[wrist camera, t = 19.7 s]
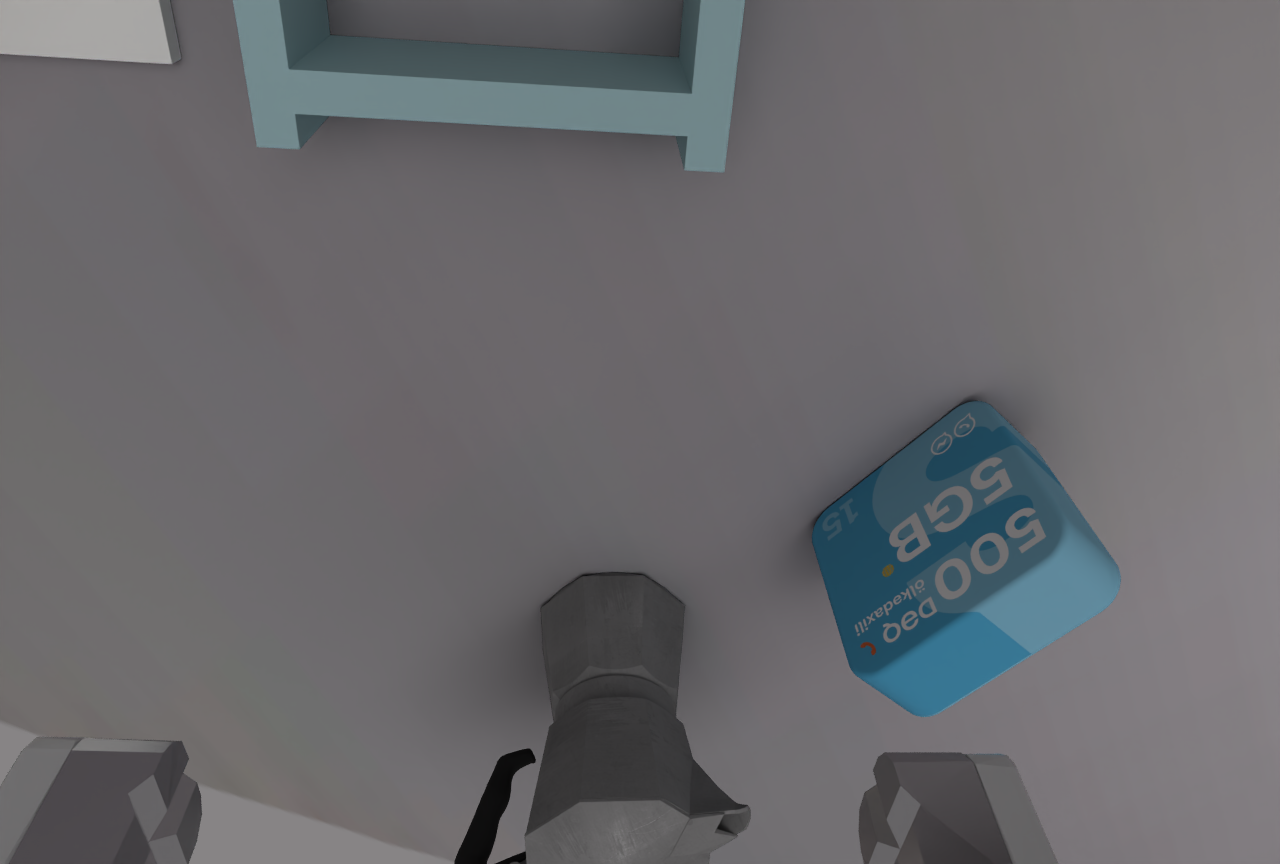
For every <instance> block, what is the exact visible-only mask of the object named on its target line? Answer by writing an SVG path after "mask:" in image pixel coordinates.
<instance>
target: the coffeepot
mask: <svg viewBox="0 0 1280 864" xmlns="http://www.w3.org/2000/svg"><path fill="white" fill-rule="evenodd" d="M684 611H685V606H684V605H683V604H682V603H681V602H680V601H679V600H677V599H676V598H675V597H674V596H673V595H672V594H671V593H670V592H669V591H668V590H667V589H665V588H664V587H663V586H661V585H660V584H658V583H656V582H655V581H653V580H650V579H648V578H647V577H645V576H644V575H637V574H630V573H618V572H610V573H599V574H595V575H590V576H582V577H580V578H579V579H577V580H575V581H573V582H572V583H570V584H568V585H567V586H565V587H564V588H562V589H561V590H560V591H559V592H558V593H556V594H555V595H554V596H553V597H552V599H551V600H550V601H549V602H548V603H547V604H545V605H544V606H543V607H541V624H542V645H543V655H544V661H545V668H546V675H547V681H548V688H549V694H550V701H551V708H552V714H553V721H554V723H553V724H552V725H551V726H550V727H549V731H548V736H547V740H546V745H545V749H544V754H543V758H542V763H541V767H540V772H539V776H538V781H537V785H536V790H535V795H534V799H533V804H532V808H531V813H530V817H529V822H528V826H527V831H526V833H525V848H526V851H525V852H523V853H520V854H517V855H515V856H512V857H510V858H507V859H505V860H503V861H500V862H498V863H496V864H709V859H710V853H711V852H713V851H714V850H716V849H718V848H720V847H721V846H723V845H725V844H726V843H728V842H730V841H732V840H733V839H735V838H737V836H738V835H736V834H738V833H740V832H742V831H744V830H746V829H747V827H748V824H749V821H750V817H751V811H750V808H749V806H748V805H742V804H738V803H736V802H734V801H733V800H732V799H731V798H730V797H729V796H728V795H726V794H725V793H724V792H723V791H722V790H721V789H720V788H719V787H718V786H717V785H716V784H715V783H714V782H713V781H712V779H711V778H710V777H709V776H708V775H707V774H706V773H705V772H704V771H703V769H702V768H701V767H700V766H699V765H698V764H697V763H696V762H695V760H694V759H693V757H692V753H691V750H690V746H689V743H688V739H687V736H686V732H685V729H684V725H683V723H682V722H680V721H679V720H678V719H677V718H676V708H677V696H678V684H679V673H680V661H681V651H682V638H683V624H684ZM535 761H536V759H535V756H534V754H533V752H532V751H531V749H523V750H519V751H515V752H512V753H509V754H506V755H504V756H502V757H501V758H500V759H499V760H498V761H497V764H496V766H495V769H494V771H493V773H492V776H491V778H490V780H489V782H488V784H487V787H486V789H485V792H484V794H483V796H482V798H481V800H480V803H479V805H478V808H477V810H476V813H475V815H474V818H473V820H472V822H471V825H470V827H469V829H468V832H467V834H466V836H465V838H464V840H463V843H462V845H461V847H460V849H459V851H458V854H457V856H456V859H455V863H454V864H487V860H488V858H489V856H490V854H491V851H492V848H493V845H494V842H495V838H496V834H497V829H498V824H499V820H500V818H501V816H502V814H503V813H504V811H505V809H506V807H507V805H508V802H509V799H510V793H511V782H512V778H513V776H514V774H515V772H517V771H518V770H519V769H520V768H522V767H524V766H526V765H528V764H531V763H535Z"/></svg>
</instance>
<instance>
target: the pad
mask: <svg viewBox="0 0 1280 864" xmlns="http://www.w3.org/2000/svg"><path fill="white" fill-rule="evenodd" d="M0 54H12V55H29V56H45V57H62V58H78V59H95V60H111V61H128V62H144V63H161V64H173V63H175V62H177V61H178V60H180V59H182V58H181V53H180V48H179V43H178V38H177V33H176V28H175V23H174V18H173V13H172V8H171V3H170V0H0Z"/></svg>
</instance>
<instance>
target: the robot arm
mask: <svg viewBox="0 0 1280 864" xmlns="http://www.w3.org/2000/svg"><path fill="white" fill-rule="evenodd" d="M188 760H189V757H188V755H187V753H186V750H185V748H184V745H183V743H182V741H165V740H132V739H100V738H84V737H37V738H35V739H34V740H33V741H32V742H31V743H30V744H29V745H28V746H27V747H26V748H24V749H23V751H21V753H20V755H19V756H18V758H17V759H16V761H15V763H14V764H13V766H12V768H11V770H10V771H9V773H8V774H7V776H6V778H5V779H4V781H3V783H2V784H1V786H0V864H189V861H190V858H191V855H192V853H193V850H194V847H195V845H196V842H197V837H198V832H199V827H200V821H201V816H202V808H201V794H200V791H199V788H198V784H197V782H196V781H194V780H193V779H191V778H190V777H188V776H187V775H185V774H184V773H183V772H184V769H185V767H186V765H187V762H188ZM873 772H874V775H875V779H876V783H877V784H876V785H875V786H873V787H872V788H870V789H869V790H867V791H866V792H865V793H864V796H863V800H862V803H861V806H860V809H859V839H860V847H861V853H862V857H863V862H864V864H1058V861H1057V859H1056V857H1055V854H1054V852H1053V850H1052V848H1051V845H1050V843H1049V841H1048V838H1047V836H1046V834H1045V832H1044V829H1043V827H1042V825H1041V822H1040V820H1039V818H1038V815H1037V813H1036V811H1035V809H1034V806H1033V804H1032V802H1031V799H1030V797H1029V795H1028V793H1027V790H1026V788H1025V786H1024V783H1023V781H1022V779H1021V777H1020V774H1019V772H1018V770H1017V767H1016V765H1015V763H1014V762H1013V761H1012V760H1011V759H1010V758H1009V757H1008V756H1007V755H1003V754H962V753H956V752H884V753H883V754H882V755H880V756H879V757H878V759H877V761H876V764H875V766H874V769H873Z"/></svg>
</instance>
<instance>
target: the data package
mask: <svg viewBox="0 0 1280 864" xmlns="http://www.w3.org/2000/svg"><path fill="white" fill-rule="evenodd" d="M812 543H813V546H814V550H815V553H816V556H817V560H818V563H819V566H820V570H821V573H822V576H823V580H824V583H825V586H826V590H827V593H828V596H829V600H830V603H831V606H832V610H833V613H834V616H835V620H836V623H837V626H838V630H839V633H840V636H841V640H842V643H843V646H844V650H845V653H846V656H847V660H848V663H849V666H850V668H851V670H852V671H853V673H854V674H855V675H856V676H857V677H859V678H860V679H862V680H863V681H865V682H866V683H868V684H869V685H871V686H872V687H873V688H875V689H876V690H878V691H879V692H881V693H882V694H884V695H885V696H887V697H888V698H889V699H891V700H892V701H894V702H895V703H897V704H898V705H900V706H901V707H903V708H904V709H906V710H907V711H908V712H910V713H912V714H913V715H916V716H920V717H930V716H934V715H936V714H939V713H940V712H942V711H944V710H945V709H947V708H949V707H950V706H952V705H953V704H955V703H956V702H958V701H960V700H961V699H963V698H964V697H966V696H968V695H969V694H971V693H972V692H974V691H976V690H977V689H979V688H980V687H982V686H984V685H985V684H987V683H988V682H990V681H992V680H993V679H995V678H996V677H998V676H1000V675H1001V674H1003V673H1004V672H1006V671H1008V670H1009V669H1011V668H1012V667H1014V666H1016V665H1017V664H1019V663H1020V662H1022V661H1024V660H1025V659H1027V658H1028V657H1030V656H1031V655H1033V654H1035V653H1036V652H1038V651H1039V650H1041V649H1043V648H1044V647H1046V646H1047V645H1049V644H1051V643H1052V642H1054V641H1055V640H1057V639H1059V638H1060V637H1062V636H1063V635H1065V634H1067V633H1068V632H1070V631H1071V630H1073V629H1075V628H1076V627H1078V626H1079V625H1081V624H1083V623H1084V622H1086V621H1087V620H1089V619H1091V618H1092V617H1094V616H1095V615H1097V614H1098V613H1100V612H1102V611H1103V610H1104V609H1106V608H1107V607H1108V606H1109V605H1110V604H1111V603H1112V602H1113V600H1114V599H1115V597H1116V595H1117V593H1118V591H1119V588H1120V582H1121V576H1120V571H1119V568H1118V566H1117V564H1116V563H1115V561H1114V560H1113V558H1112V557H1111V555H1110V554H1109V553H1108V551H1107V550H1106V548H1105V547H1104V545H1103V544H1102V543H1101V541H1100V540H1099V538H1098V537H1097V535H1096V534H1095V533H1094V531H1093V530H1092V528H1091V527H1090V525H1089V524H1088V523H1087V521H1086V520H1085V518H1084V517H1083V515H1082V514H1081V513H1080V511H1079V510H1078V508H1077V507H1076V505H1075V504H1074V503H1073V501H1072V500H1071V498H1070V497H1069V495H1068V494H1067V493H1066V491H1065V490H1064V488H1063V487H1062V485H1061V484H1060V483H1059V481H1058V480H1057V478H1056V477H1055V475H1054V474H1053V473H1052V471H1051V470H1050V468H1049V467H1048V465H1047V464H1046V463H1045V461H1044V460H1043V458H1042V457H1041V455H1040V454H1039V453H1038V451H1037V450H1036V449H1035V448H1034V447H1033V446H1032V445H1031V444H1030V443H1029V442H1028V441H1027V440H1026V439H1025V438H1024V437H1023V436H1022V435H1021V434H1020V433H1019V432H1018V431H1017V430H1016V429H1015V428H1014V427H1013V426H1012V425H1010V424H1009V423H1008V422H1007V421H1006V420H1005V419H1004V418H1003V417H1002V416H1001V415H1000V414H999V413H998V412H997V411H996V410H995V409H994V408H993V407H992V406H991V405H989V404H988V403H986V402H982V401H972V402H968V403H965V404H962V405H960V406H959V407H957V408H955V409H954V410H953V411H951V412H950V413H949V414H948V415H946V416H945V417H944V418H942V419H941V420H940V421H939V422H937V423H936V424H935V425H933V426H932V427H931V428H930V429H928V430H927V431H926V432H925V433H923V434H922V435H921V436H919V437H918V438H917V439H916V440H914V441H913V442H912V443H910V444H909V445H908V446H907V447H905V448H904V449H903V450H901V451H900V452H899V453H898V454H896V455H895V456H894V457H893V458H891V459H890V460H889V461H887V462H886V463H885V464H884V465H882V466H881V467H880V468H878V469H877V470H876V471H875V472H873V473H872V474H871V475H869V476H868V477H867V478H866V479H864V480H863V481H862V482H861V483H859V484H858V485H857V486H855V487H854V488H853V489H852V490H850V491H849V492H848V493H846V494H845V495H844V496H843V497H841V498H840V499H839V500H838V501H836V502H835V503H834V504H832V505H831V506H830V507H829V508H827V509H826V510H825V511H824V512H823V513H822V514H821V516H820V517H819V518H818V520H817V522H816V524H815V526H814V529H813V533H812Z"/></svg>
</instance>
